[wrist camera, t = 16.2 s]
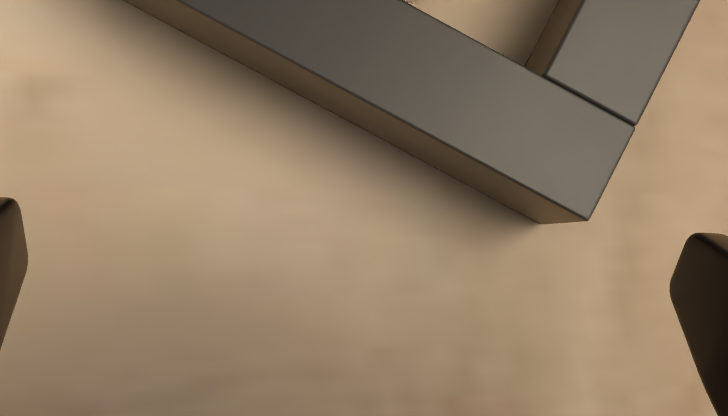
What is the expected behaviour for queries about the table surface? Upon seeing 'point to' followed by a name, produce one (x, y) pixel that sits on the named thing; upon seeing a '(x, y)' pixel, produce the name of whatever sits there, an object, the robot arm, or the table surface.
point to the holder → (463, 84)
